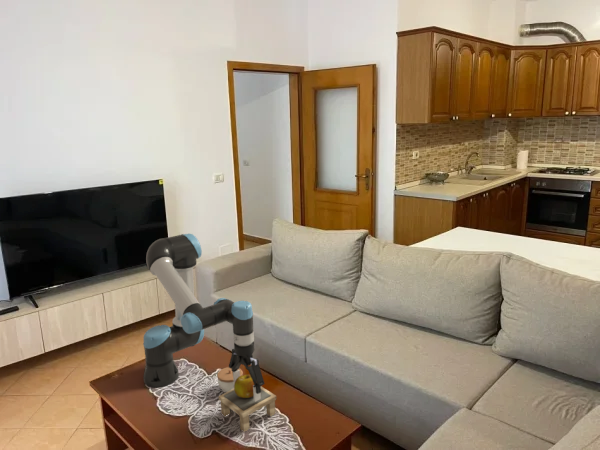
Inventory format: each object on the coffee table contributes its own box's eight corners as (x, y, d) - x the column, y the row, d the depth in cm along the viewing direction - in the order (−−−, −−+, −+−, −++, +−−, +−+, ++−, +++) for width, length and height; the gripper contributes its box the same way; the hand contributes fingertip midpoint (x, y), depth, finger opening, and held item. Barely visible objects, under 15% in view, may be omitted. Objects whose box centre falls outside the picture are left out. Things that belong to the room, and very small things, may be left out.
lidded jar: (238, 397, 191) (237, 377, 189) (214, 395, 193) (213, 375, 191) (246, 383, 201) (245, 364, 199) (223, 381, 203) (222, 362, 201)
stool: (219, 414, 180) (218, 395, 178) (252, 397, 191) (251, 379, 189) (244, 433, 169) (242, 413, 167) (277, 414, 180) (276, 395, 178)
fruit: (256, 386, 184) (255, 368, 182) (262, 399, 175) (261, 380, 173) (232, 391, 181) (231, 373, 179) (237, 404, 172) (235, 385, 171)
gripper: (217, 334, 179) (221, 384, 184) (256, 357, 162) (258, 410, 167) (233, 328, 184) (236, 376, 189) (272, 349, 167) (274, 401, 172)
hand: (247, 392), depth 178 cm, fingers open, 12 cm apart
